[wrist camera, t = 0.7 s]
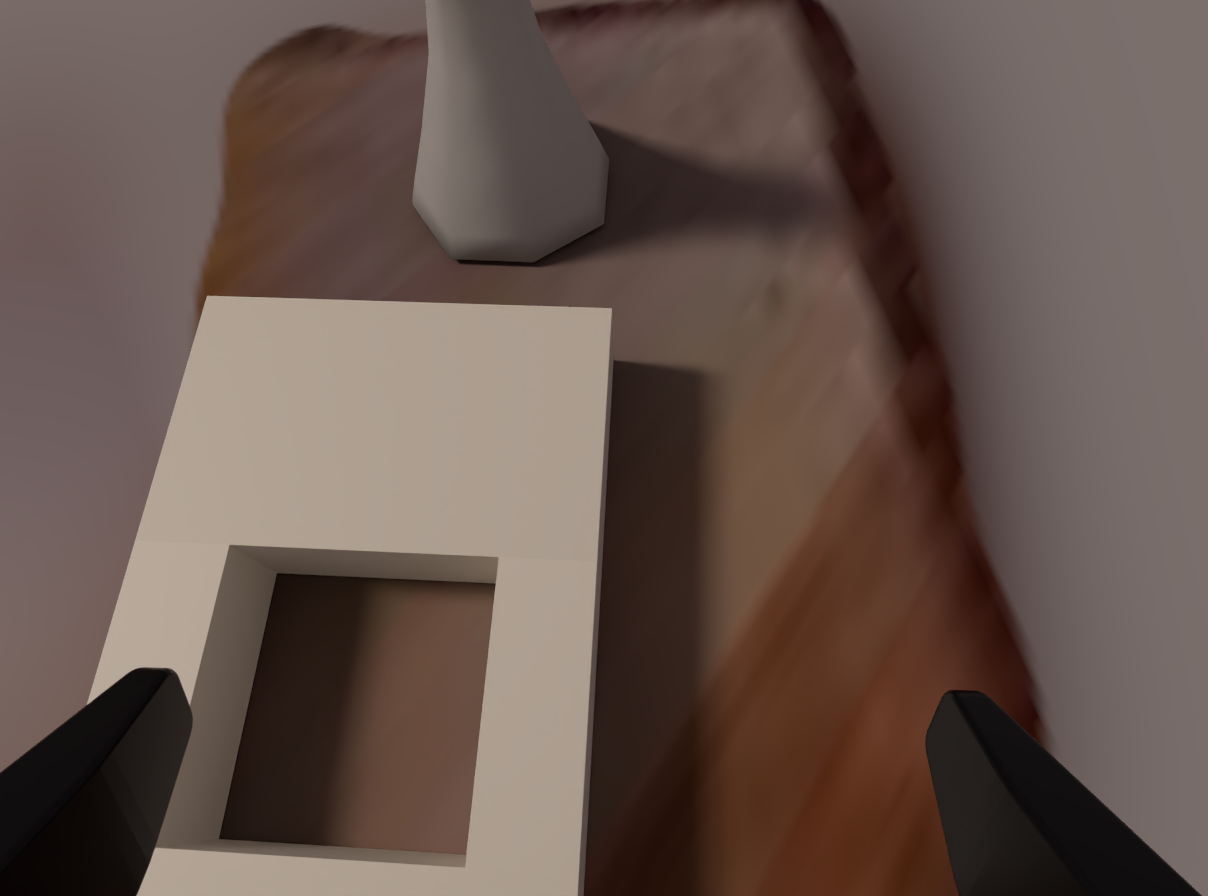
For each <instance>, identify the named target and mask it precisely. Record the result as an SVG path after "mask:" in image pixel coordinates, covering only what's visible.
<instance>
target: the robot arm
mask: <svg viewBox="0 0 1208 896" xmlns="http://www.w3.org/2000/svg"><path fill="white" fill-rule="evenodd" d="M192 726H193V716H192V711H191V708H190V705H189V703H188V700H187V697H186V695H185V692H184V690H183V687H182V684H181V682H180V679H179V676H178V674H177V673H176V672H175V671H174V670H172V669H170V668H153V667H141V668H137V669H134V670H132V671H130V672H129V673H127V674H126V675H125V676H123V677H122V678H121V679H119V680H118V681H117V682H116V683H114V684H113V685H112V686H110V687H109V688H108V689H107V690H105V691H104V692H103V693H101V694H100V695H99V696H98V697H96V698H95V699H94V700H93V701H91V702H90V703H89V704H87V705H86V706H85V707H84V708H82V709H81V710H80V711H78V712H77V713H76V714H75V715H74V716H72V717H71V718H69V719H68V720H67V721H66V722H64V723H63V724H62V725H61V726H59V727H58V728H57V729H55V730H54V731H53V732H52V733H50V734H49V735H48V736H47V737H45V738H44V739H43V740H41V741H40V742H39V743H37V744H36V745H35V746H34V747H32V748H31V749H30V750H29V751H27V752H26V753H25V754H23V755H22V756H21V757H20V758H18V759H17V760H16V761H14V762H13V763H12V764H11V765H9V766H8V767H7V768H5V769H4V770H3V771H2V772H0V896H137V894H138V891H139V889H140V887H141V884H142V882H143V879H144V877H145V874H146V872H147V869H148V867H149V864H150V861H151V858H152V856H153V853H154V850H155V847H156V844H157V841H158V838H159V834H160V831H161V828H162V825H163V822H164V818H165V815H166V812H167V809H168V806H169V802H170V799H171V796H172V793H173V790H174V786H175V783H176V780H177V777H178V774H179V770H180V767H181V764H182V761H183V758H184V754H185V751H186V748H187V745H188V742H189V739H190V735H191V731H192ZM926 753H927V758H928V762H929V767H930V772H931V776H932V781H933V785H934V790H935V794H936V799H937V803H938V808H939V812H940V817H941V822H942V826H943V831H944V835H945V840H946V844H947V849H948V853H949V858H950V862H951V866H952V870H953V874H954V878H955V882H956V885H957V889H958V892H959V895H960V896H1202V895H1201V894H1200V893H1199V892H1197V891H1196V890H1195V889H1194V888H1193V887H1192V886H1191V885H1190V884H1189V883H1188V882H1187V881H1186V880H1185V879H1184V878H1182V877H1181V876H1180V875H1179V874H1178V873H1177V872H1176V871H1175V870H1174V869H1173V868H1171V866H1170V865H1168V864H1167V863H1166V862H1165V861H1164V860H1163V859H1162V858H1161V857H1160V856H1159V855H1158V854H1157V853H1156V852H1155V851H1153V850H1152V849H1151V848H1150V847H1149V846H1148V845H1147V844H1146V843H1145V842H1144V841H1143V840H1142V839H1141V838H1140V837H1138V835H1136V834H1135V833H1134V832H1133V831H1132V830H1131V829H1130V828H1129V827H1128V826H1127V825H1126V824H1125V823H1124V822H1122V821H1121V820H1120V819H1119V818H1118V817H1117V816H1116V815H1115V814H1114V813H1113V812H1112V811H1111V810H1109V809H1108V807H1106V806H1105V805H1104V804H1103V803H1102V802H1101V801H1100V800H1099V799H1098V798H1097V797H1096V796H1095V795H1094V794H1093V793H1091V792H1090V791H1089V790H1088V789H1087V788H1086V787H1085V786H1084V785H1083V784H1082V783H1081V782H1080V781H1079V780H1078V779H1076V778H1075V777H1074V776H1073V775H1072V774H1071V773H1070V772H1069V771H1068V770H1067V769H1066V768H1065V767H1064V766H1063V765H1061V764H1060V763H1059V762H1058V761H1057V760H1056V759H1055V758H1054V757H1053V756H1052V755H1051V754H1050V753H1049V752H1048V751H1047V750H1045V749H1044V748H1043V747H1042V746H1041V745H1040V744H1039V743H1038V742H1037V741H1036V740H1035V739H1034V738H1033V737H1032V736H1030V735H1029V734H1028V733H1027V732H1026V731H1025V730H1024V729H1023V728H1022V727H1021V726H1020V725H1019V724H1018V723H1017V722H1015V721H1014V720H1013V719H1012V718H1011V717H1010V716H1009V715H1008V714H1007V713H1006V712H1005V711H1004V710H1003V709H1002V708H1000V707H999V706H998V705H997V704H996V703H995V702H994V701H993V700H992V699H991V698H990V697H988V696H987V695H986V694H984V693H982V692H980V691H971V690H949V691H948V692H946V693H945V694H944V695H943V696H942V698H941V701H940V703H939V705H938V707H937V710H936V712H935V714H934V716H933V719H932V721H931V723H930V726H929V728H928V730H927V734H926Z"/></svg>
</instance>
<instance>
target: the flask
mask: <svg viewBox="0 0 1208 896" xmlns="http://www.w3.org/2000/svg"><path fill="white" fill-rule="evenodd" d="M426 15H427V29H428V44H429V58H428V69H427V80H426V90H425V101H424V112H423V122H422V131H421V138H420V145H419V152H418V160H417V167H416V174H415V181H414V190H413V201H412V204H413V206H414V207H415V209H416V210H417V212H418V213H419V214H420V216H421V217H422V219H423V220H424V222H425V223H426V224H427V226H428V227H429V229H430V230H431V232H432V233H433V234H434V236H435V237H436V239H437V240H438V242H439V243H440V244H441V246H442V247H443V249H444V250H445V252H446V253H447V254H448V256H449V257H450V259H460V260H486V261H512V262H535V261H537V260H539V259H541V258H543V257H544V256H546V255H548V254H550V253H552V252H554V251H555V250H557V249H559V248H561V247H563V246H565V245H566V244H568V243H570V242H572V241H574V240H576V239H577V238H579V237H581V236H583V235H585V234H587V233H588V232H590V231H592V230H594V229H596V228H598V227H599V226H601V225H603V224H604V219H605V207H606V194H607V182H608V170H609V158H608V156H607V154H606V152H605V151H604V149H603V147H602V145H601V143H600V141H599V139H598V138H597V136H596V134H595V132H594V131H593V129H592V127H591V125H590V124H589V122H588V120H587V118H586V117H585V115H584V113H583V111H582V110H581V108H580V106H579V104H578V103H577V101H576V99H575V97H574V96H573V94H572V92H571V90H570V88H569V86H568V84H567V82H566V80H565V78H564V76H563V74H562V72H561V71H560V69H559V67H558V65H557V63H556V61H555V59H554V57H553V55H552V53H551V51H550V49H549V47H548V45H547V43H546V41H545V39H544V37H543V35H542V34H541V32H540V30H539V27H538V24H537V21H536V17H535V14H534V11H533V8H532V5H531V2H530V0H426Z"/></svg>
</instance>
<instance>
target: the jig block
mask: <svg viewBox="0 0 1208 896" xmlns="http://www.w3.org/2000/svg"><path fill="white" fill-rule="evenodd" d="M613 362H614V355H613V325H612V308H585V307H553V306H520V305H488V304H455V303H423V302H390V301H358V300H325V299H293V298H260V297H228V296H207V298H206V302H205V305H204V309H203V312H202V315H201V319H200V322H199V326H198V329H197V332H196V336H195V339H194V343H193V346H192V349H191V353H190V356H189V360H188V363H187V366H186V370H185V373H184V377H183V380H182V383H181V387H180V390H179V394H178V397H177V401H176V404H175V407H174V411H173V414H172V418H171V421H170V425H169V428H168V431H167V435H166V438H165V441H164V445H163V448H162V451H161V455H160V458H159V462H158V465H157V468H156V472H155V475H154V479H153V482H152V485H151V489H150V492H149V496H148V499H147V502H146V506H145V509H144V513H143V516H142V519H141V523H140V526H139V530H138V533H137V536H136V540H135V543H134V547H133V550H132V553H131V557H130V561H129V564H128V567H127V570H126V574H125V577H124V581H123V584H122V587H121V591H120V594H119V598H118V601H117V604H116V608H115V611H114V615H113V618H112V622H111V625H110V628H109V632H108V635H107V639H106V642H105V645H104V649H103V652H102V655H101V659H100V662H99V666H98V669H97V672H96V676H95V680H94V683H93V686H92V689H91V693H90V697H89V700H88V703H87V704H89V703H90V702H91V701H93V700H94V699H95V698H96V697H98V696H99V695H100V694H101V693H103V692H104V691H105V690H107V689H108V688H109V687H110V686H112V685H113V684H114V683H116V682H117V681H118V680H119V679H121V678H122V677H123V676H125V675H126V674H127V673H129V672H130V671H132V670H134V669H137V668H141V667H153V668H170V669H172V670H174V671H175V672H176V673H177V674H178V676H179V679H180V682H181V684H182V687H183V690H184V692H185V695H186V697H187V700H188V703H189V705H190V708H191V711H192V716H193V726H192V731H191V735H190V739H189V742H188V745H187V748H186V751H185V754H184V758H183V761H182V764H181V767H180V770H179V774H178V777H177V780H176V783H175V786H174V790H173V793H172V796H171V799H170V802H169V806H168V809H167V812H166V815H165V818H164V822H163V825H162V828H161V831H160V834H159V838H158V841H157V844H156V847H155V850H154V853H153V856H152V858H151V861H150V864H149V867H148V869H147V872H146V874H145V877H144V879H143V882H142V884H141V887H140V889H139V891H138V894H137V896H584V879H585V861H586V843H587V825H588V808H589V790H590V772H591V754H592V736H593V718H594V701H595V683H596V665H597V647H598V629H599V612H600V594H601V576H602V558H603V540H604V523H605V505H606V487H607V469H608V451H609V433H610V416H611V398H612V380H613ZM277 573H285V574H306V575H327V576H348V577H369V578H391V579H412V580H433V581H454V582H475V583H496V587H495V596H494V606H493V615H492V624H491V633H490V642H489V652H488V661H487V670H486V679H485V689H484V698H483V707H482V716H481V725H480V735H479V744H478V753H477V762H476V772H475V781H474V790H473V799H472V808H471V818H470V827H469V836H468V845H467V855H463V854H447V853H431V852H416V851H400V850H384V849H368V848H353V847H337V846H321V845H305V844H290V843H274V842H258V841H242V840H227V839H219V836H220V831H221V827H222V822H223V818H224V813H225V809H226V804H227V799H228V795H229V790H230V786H231V781H232V777H233V772H234V767H235V763H236V758H237V754H238V749H239V745H240V740H241V735H242V731H243V726H244V722H245V717H246V712H247V708H248V703H249V699H250V694H251V690H252V685H253V680H254V676H255V671H256V667H257V662H258V658H259V653H260V648H261V644H262V639H263V635H264V630H265V625H266V621H267V616H268V612H269V607H270V603H271V598H272V593H273V589H274V584H275V580H276V575H277Z"/></svg>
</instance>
